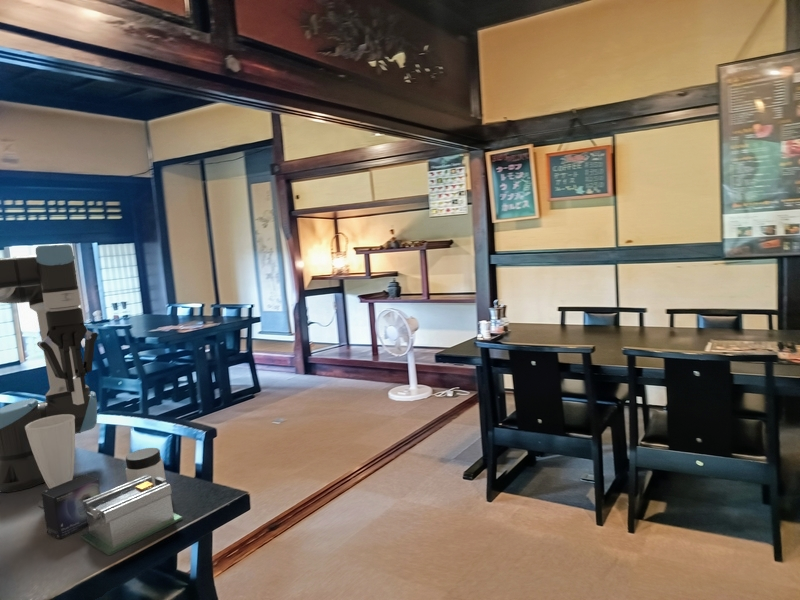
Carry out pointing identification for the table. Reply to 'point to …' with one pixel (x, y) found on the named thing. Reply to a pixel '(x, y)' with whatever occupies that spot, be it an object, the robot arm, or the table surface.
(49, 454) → the cup
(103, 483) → the table surface
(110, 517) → the heatsink
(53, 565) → the table surface
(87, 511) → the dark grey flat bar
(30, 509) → the table surface
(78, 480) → the small box
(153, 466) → the jar
